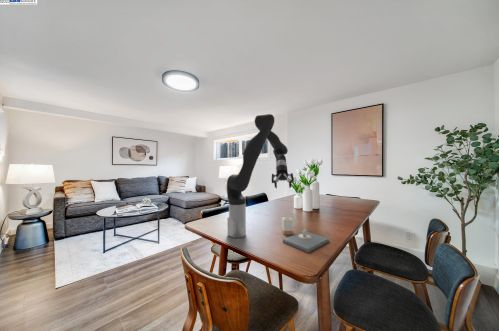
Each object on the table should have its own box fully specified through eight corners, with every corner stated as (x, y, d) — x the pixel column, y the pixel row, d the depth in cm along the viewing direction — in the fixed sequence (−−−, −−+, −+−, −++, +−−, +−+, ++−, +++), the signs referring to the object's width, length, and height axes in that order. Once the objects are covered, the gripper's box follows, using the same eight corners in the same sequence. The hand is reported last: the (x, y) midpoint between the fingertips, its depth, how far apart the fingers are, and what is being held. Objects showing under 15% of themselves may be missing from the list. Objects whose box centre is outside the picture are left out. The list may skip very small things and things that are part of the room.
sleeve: (292, 234, 99) (292, 219, 99) (283, 234, 99) (283, 219, 99) (290, 231, 104) (290, 217, 104) (281, 231, 104) (281, 217, 104)
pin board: (308, 252, 78) (307, 240, 78) (282, 242, 89) (282, 231, 89) (328, 241, 89) (328, 230, 89) (304, 233, 100) (304, 223, 100)
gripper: (271, 164, 123) (271, 184, 112) (292, 163, 121) (295, 183, 110) (271, 171, 128) (272, 191, 118) (291, 170, 126) (294, 190, 116)
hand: (283, 187), depth 114 cm, fingers open, 8 cm apart
